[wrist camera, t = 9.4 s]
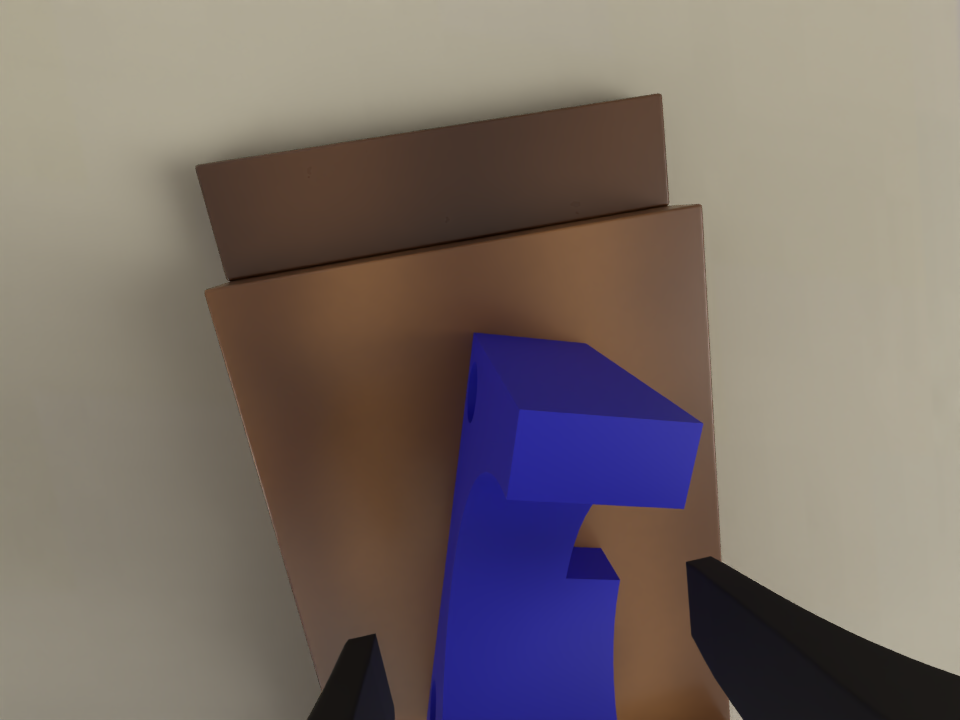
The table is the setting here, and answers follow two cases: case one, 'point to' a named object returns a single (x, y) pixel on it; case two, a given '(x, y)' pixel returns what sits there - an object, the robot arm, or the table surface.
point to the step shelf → (459, 363)
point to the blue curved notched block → (545, 527)
